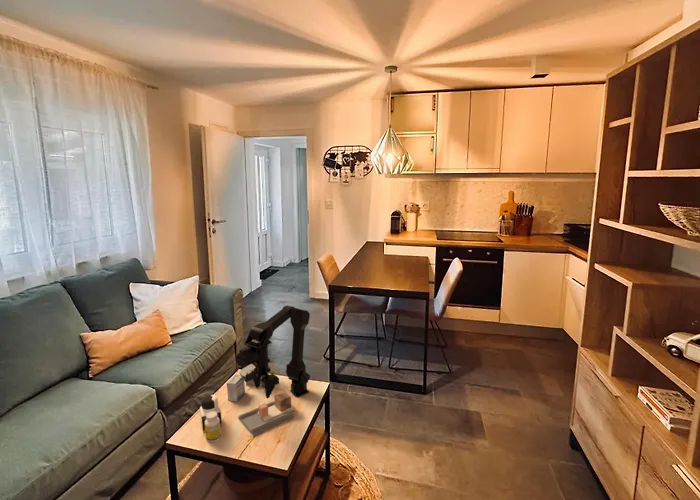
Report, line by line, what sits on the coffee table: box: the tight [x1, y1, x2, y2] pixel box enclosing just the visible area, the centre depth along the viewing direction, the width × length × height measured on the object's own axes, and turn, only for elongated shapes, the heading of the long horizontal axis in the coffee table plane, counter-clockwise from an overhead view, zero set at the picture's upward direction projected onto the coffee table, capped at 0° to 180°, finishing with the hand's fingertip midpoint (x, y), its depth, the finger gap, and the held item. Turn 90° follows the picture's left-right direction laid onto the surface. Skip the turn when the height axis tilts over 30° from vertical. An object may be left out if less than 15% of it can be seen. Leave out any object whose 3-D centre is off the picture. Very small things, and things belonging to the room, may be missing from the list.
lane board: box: [237, 400, 295, 437], centre depth 155 cm, size 18×14×2 cm
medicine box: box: [226, 374, 246, 402], centre depth 170 cm, size 8×4×9 cm, turn 168°
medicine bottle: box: [199, 394, 223, 433], centre depth 150 cm, size 7×7×12 cm
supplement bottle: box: [204, 411, 222, 443], centre depth 143 cm, size 5×5×10 cm
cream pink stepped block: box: [257, 403, 297, 422], centre depth 157 cm, size 14×7×5 cm, turn 129°
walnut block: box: [274, 391, 292, 412], centre depth 159 cm, size 5×5×5 cm
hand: (262, 392), depth 152 cm, fingers open, 9 cm apart
